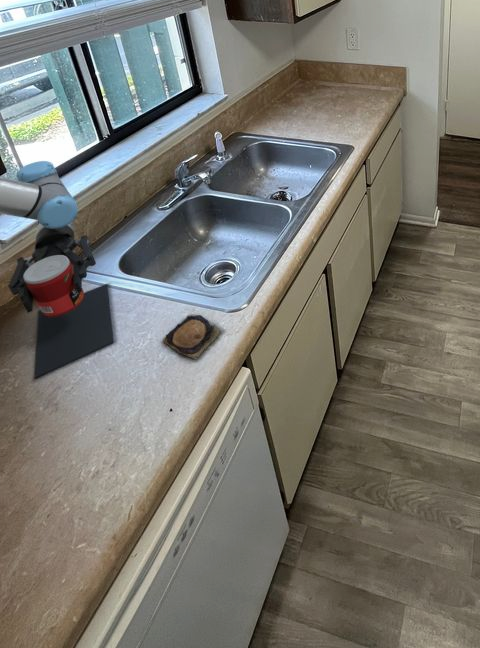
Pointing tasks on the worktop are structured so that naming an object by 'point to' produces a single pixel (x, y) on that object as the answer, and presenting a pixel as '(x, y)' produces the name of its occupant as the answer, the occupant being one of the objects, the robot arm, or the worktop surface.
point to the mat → (74, 332)
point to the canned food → (53, 285)
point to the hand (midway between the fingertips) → (53, 297)
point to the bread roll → (192, 336)
